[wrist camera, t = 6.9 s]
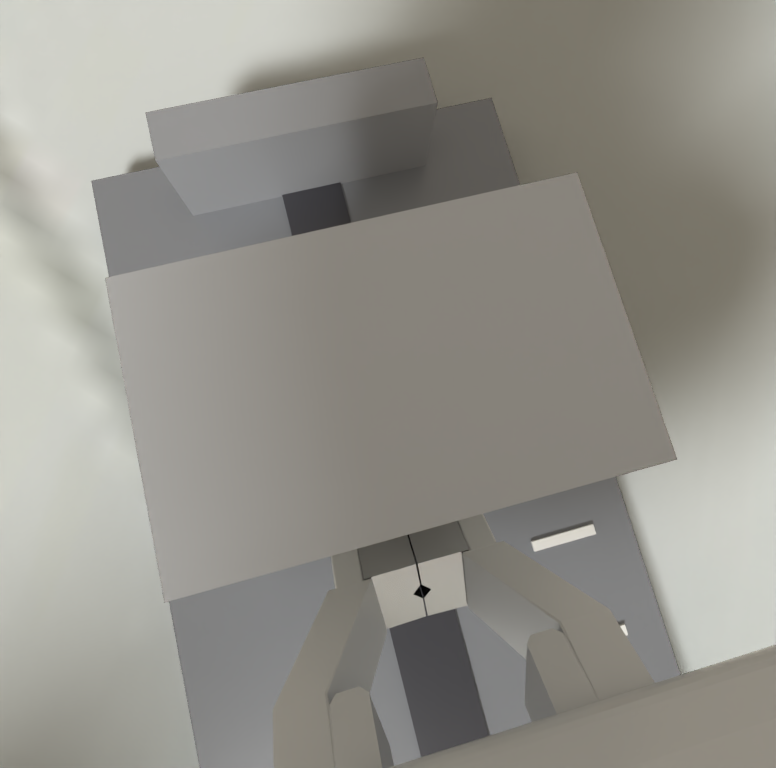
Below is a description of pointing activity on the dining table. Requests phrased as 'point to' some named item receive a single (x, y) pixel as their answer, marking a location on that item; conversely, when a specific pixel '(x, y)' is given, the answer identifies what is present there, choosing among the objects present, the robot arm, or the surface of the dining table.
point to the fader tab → (378, 381)
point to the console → (314, 579)
